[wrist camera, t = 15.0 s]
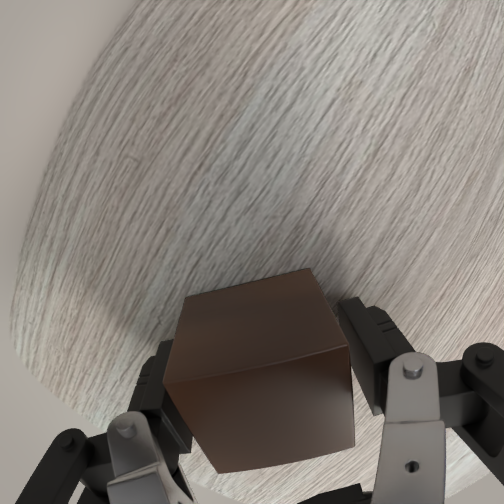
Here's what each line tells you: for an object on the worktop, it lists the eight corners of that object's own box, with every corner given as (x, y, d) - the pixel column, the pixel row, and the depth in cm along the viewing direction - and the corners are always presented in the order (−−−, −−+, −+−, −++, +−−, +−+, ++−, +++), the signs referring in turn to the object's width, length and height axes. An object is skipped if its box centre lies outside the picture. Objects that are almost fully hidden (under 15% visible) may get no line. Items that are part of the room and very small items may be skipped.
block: (220, 386, 13) (217, 474, 8) (184, 296, 11) (160, 382, 7) (325, 363, 12) (355, 447, 8) (309, 267, 11) (349, 342, 7)
